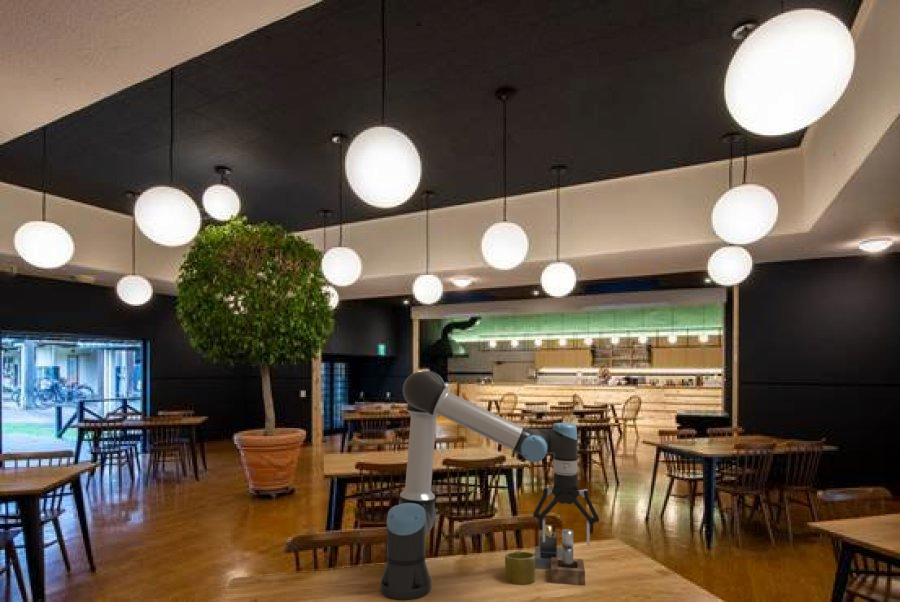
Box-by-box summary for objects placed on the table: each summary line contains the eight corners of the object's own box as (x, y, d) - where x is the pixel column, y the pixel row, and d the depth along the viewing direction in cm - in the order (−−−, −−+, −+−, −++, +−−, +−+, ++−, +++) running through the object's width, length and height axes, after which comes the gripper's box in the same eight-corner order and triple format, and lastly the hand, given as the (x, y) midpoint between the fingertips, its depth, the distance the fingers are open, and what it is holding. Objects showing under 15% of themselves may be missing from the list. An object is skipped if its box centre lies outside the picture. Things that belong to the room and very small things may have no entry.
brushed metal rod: (562, 578, 165) (562, 532, 167) (561, 574, 169) (562, 528, 170) (573, 580, 165) (573, 532, 166) (573, 575, 168) (573, 529, 170)
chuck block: (534, 571, 174) (534, 542, 175) (535, 557, 186) (535, 530, 187) (562, 573, 172) (562, 544, 173) (562, 559, 184) (561, 532, 185)
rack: (551, 586, 163) (551, 568, 163) (551, 573, 172) (551, 557, 173) (585, 588, 161) (584, 571, 161) (583, 575, 171) (583, 559, 171)
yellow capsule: (544, 548, 182) (543, 527, 183) (544, 545, 185) (544, 524, 185) (552, 549, 181) (552, 527, 182) (552, 546, 184) (552, 525, 185)
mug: (540, 585, 159) (530, 549, 163) (507, 593, 161) (498, 557, 164) (544, 577, 170) (534, 544, 174) (513, 585, 172) (504, 552, 175)
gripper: (525, 473, 169) (525, 543, 167) (607, 477, 164) (608, 549, 162) (526, 468, 176) (526, 535, 174) (604, 472, 172) (605, 541, 169)
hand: (565, 542), depth 168 cm, fingers open, 13 cm apart
